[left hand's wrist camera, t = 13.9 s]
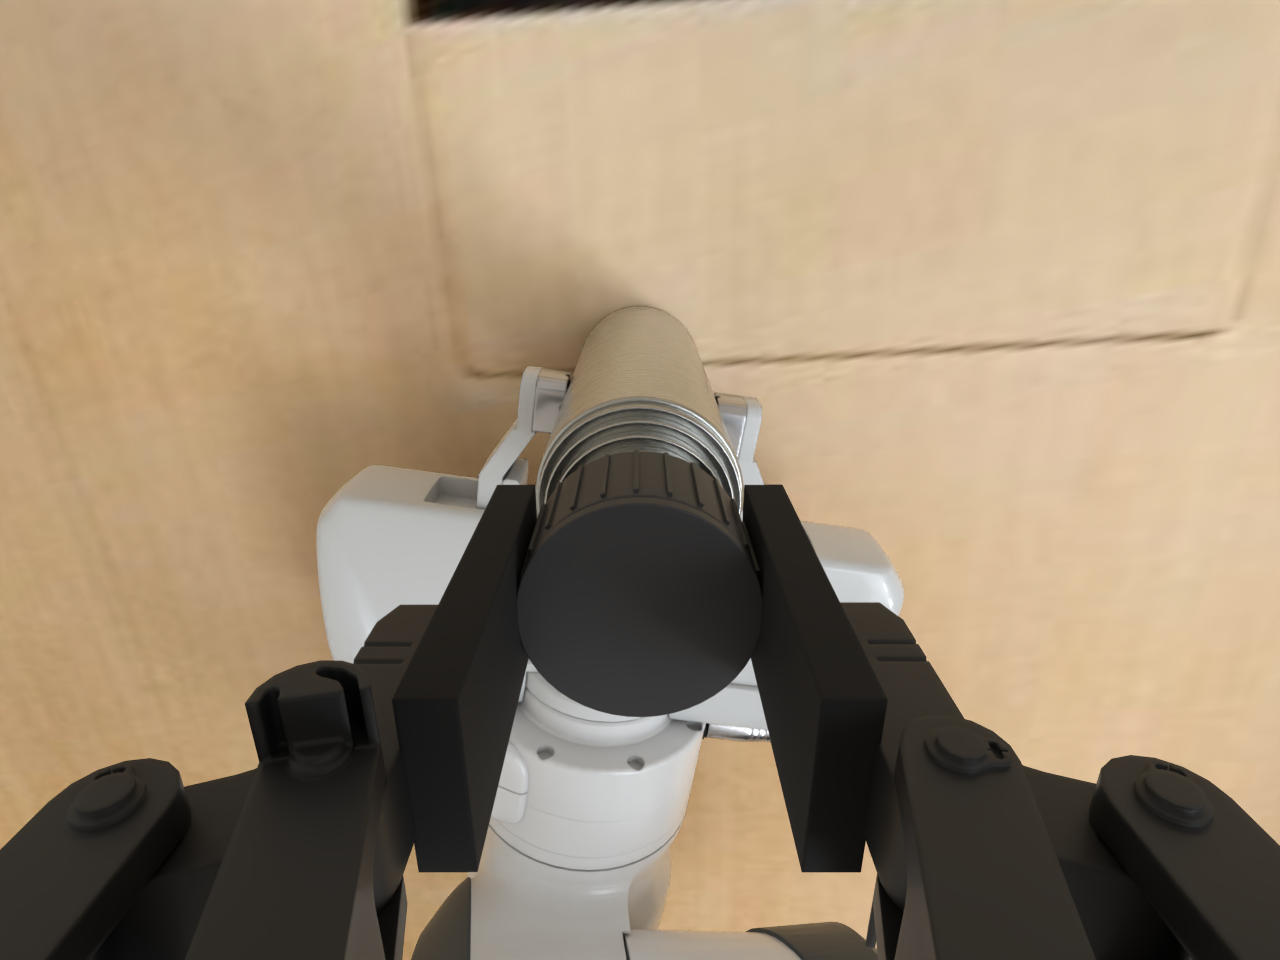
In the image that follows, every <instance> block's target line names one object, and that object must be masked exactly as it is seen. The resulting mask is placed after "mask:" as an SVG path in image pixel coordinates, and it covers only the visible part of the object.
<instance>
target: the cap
mask: <svg viewBox="0 0 1280 960" xmlns="http://www.w3.org/2000/svg"><path fill="white" fill-rule="evenodd" d="M759 571H760V570H759V567H758V564H757V561H756V557H755V554H754V551H753V548H752V545H751V542H750V539H749V535H748V532H747V529H746V526H745V523H744V522H742V521H741V517H740V514H739V511H738V508H737V505H736V502H735V500H734V498H733V499H731V498H730V497H729V496H728V494H727V493H726V491H725V490H724V489H723V488H722V487H721V486H720V484H719V480H718V479H717V478H712V477H711V476H710V475H709V474H707V473H706V472H705V471H703V470H702V469H700V468H698V467H697V466H696V464H695V463H694V462H691V463H689V462H687V461H685V460H683V459H680V458H677V457H674V456H671V455H668V453H666V452H664V454H663V453H656V452H647V451H639V450H634V451H632V452H622V453H616V454H612V455H610V454H605V457H602V458H599V459H596V460H594V461H592V462H590V463H588V464H586V465H584V466H583V465H580V466H579V467H578V470H576V471H575V472H573V473H572V474H570V475H569V476H568V477H567V478H566V479H565V480H564V481H563V482H560V481H559V482H558V483H557V485H556V489H555V490H554V492H553V493H552V494H551V496H550V497H549V499H548V501H547V502H546V504H544V503H543V504H542V505H541V508H540V511H539V515H538V518H537V521H536V524H535V527H534V531H533V534H532V537H531V540H530V543H529V546H528V550H527V556H526V560H525V563H524V566H523V569H522V572H521V576H520V583H519V586H518V590H517V611H518V625H519V637H520V640H521V643H522V646H523V648H524V650H525V652H526V654H527V656H528V658H529V660H530V661H531V663H532V664H533V665H534V667H535V668H536V670H537V671H538V672H539V673H540V674H541V676H542V677H543V678H544V679H545V680H546V681H547V682H548V683H549V684H550V685H552V686H553V687H554V688H555V689H556V690H558V691H559V692H560V693H562V694H563V695H565V696H566V697H568V698H569V699H571V700H573V701H575V702H577V703H579V704H581V705H583V706H586V707H588V708H591V709H594V710H596V711H600V712H604V713H608V714H612V715H618V716H626V717H652V716H661V715H667V714H672V713H676V712H679V711H682V710H686V709H689V708H691V707H693V706H696V705H698V704H700V703H702V702H704V701H706V700H708V699H710V698H711V697H713V696H715V695H716V694H717V693H719V692H720V691H721V690H723V689H724V688H726V687H727V686H728V685H729V684H730V683H731V682H732V681H733V680H734V679H735V678H736V677H737V676H738V675H739V674H740V672H741V671H742V670H743V669H744V667H745V666H746V665H747V663H748V661H749V660H750V658H751V656H752V655H753V653H754V651H755V648H756V646H757V644H758V641H759V638H760V630H761V617H762V603H763V594H762V588H761V584H760V581H759V578H758V575H759Z"/></svg>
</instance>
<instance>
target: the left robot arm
mask: <svg viewBox="0 0 1280 960" xmlns="http://www.w3.org/2000/svg"><path fill="white" fill-rule="evenodd" d="M536 521H537V509H536V492H535V485H497V486H496V488H495V490H494V492H493V494H492V496H491V498H490V501H489V503H488V505H487V507H486V509H485V511H484V513H483V515H482V517H481V519H480V521H479V523H478V525H477V527H476V529H475V531H474V533H473V535H472V537H471V539H470V541H469V543H468V545H467V547H466V549H465V551H464V553H463V556H462V558H461V560H460V562H459V564H458V566H457V568H456V570H455V572H454V574H453V576H452V578H451V580H450V582H449V584H448V586H447V588H446V590H445V592H444V594H443V596H442V598H441V600H440V602H439V604H438V605H399V606H398V607H396V608H395V609H394V610H392V611H391V612H390V613H388V614H387V615H386V616H384V617H383V618H382V619H380V620H379V621H378V622H377V623H376V624H375V626H374V627H373V629H372V631H371V632H370V634H369V636H368V637H367V639H366V640H365V642H364V647H361V649H360V650H359V652H358V653H357V655H356V657H355V658H354V663H353V664H352V663H349V662H345V661H317V662H312V663H308V664H303V665H299V666H295V667H293V668H291V669H289V670H286V671H284V672H282V673H279V674H277V675H275V676H273V677H272V678H270V679H269V680H268V681H266V682H265V683H263V684H262V685H261V686H259V687H258V688H256V690H255V691H254V692H253V694H252V695H251V696H250V698H249V699H248V700H247V701H246V703H245V706H246V710H247V714H248V718H249V722H250V726H251V730H252V734H253V738H254V742H255V746H256V750H257V754H258V758H259V765H258V768H256V769H254V770H250V771H247V772H244V773H241V774H237V775H234V776H229V777H225V778H221V779H216V780H212V781H208V782H203V783H199V784H195V785H190V786H186V787H184V786H183V783H182V779H181V776H180V773H179V771H178V770H177V769H176V768H175V767H174V766H172V765H171V764H170V763H169V762H166V761H161V760H156V759H151V758H148V759H139V760H130V761H124V762H121V763H118V764H115V765H112V766H109V767H106V768H102V769H99V770H97V771H95V772H93V773H91V774H89V775H88V776H86V777H84V778H82V779H80V780H78V781H76V782H74V783H72V784H71V785H70V786H68V787H67V788H66V789H64V790H63V791H62V792H61V793H59V794H58V795H57V796H56V797H54V798H53V799H52V800H51V801H49V802H48V803H47V804H46V805H45V806H44V807H43V808H42V809H41V810H40V811H39V812H38V813H37V814H36V815H35V816H34V817H33V818H32V819H31V820H30V821H29V822H28V823H27V824H26V825H25V826H24V827H23V828H22V829H21V830H20V831H19V832H18V833H17V834H16V835H15V836H14V837H13V838H12V839H11V840H10V841H9V842H8V843H7V844H6V845H5V846H4V847H3V848H2V849H1V850H0V960H402V954H403V944H404V933H405V923H406V912H407V898H406V891H405V884H404V879H403V873H404V870H405V867H406V864H407V861H408V858H409V856H410V853H411V850H412V847H413V844H414V845H415V851H416V857H417V864H418V870H419V872H478V868H479V864H480V860H481V856H482V852H483V847H484V843H485V839H486V835H487V831H488V827H489V822H490V818H491V814H492V810H493V806H494V801H495V797H496V793H497V789H498V785H499V780H500V776H501V772H502V768H503V764H504V760H505V755H506V751H507V747H508V743H509V739H510V734H511V730H512V726H513V722H514V718H515V714H516V709H517V705H518V701H519V697H520V693H521V688H522V684H523V680H524V676H525V672H526V668H527V663H528V659H529V658H528V656H527V654H526V652H525V650H524V648H523V646H522V643H521V640H520V637H519V625H518V611H517V590H518V586H519V583H520V576H521V572H522V569H523V566H524V563H525V560H526V556H527V550H528V546H529V543H530V540H531V537H532V534H533V531H534V527H535V524H536ZM742 522H744V523H745V526H746V529H747V532H748V535H749V539H750V542H751V545H752V548H753V551H754V554H755V557H756V561H757V564H758V567H759V570H760V571H759V575H758V578H759V581H760V584H761V588H762V594H763V603H762V617H761V630H760V638H759V641H758V644H757V646H756V648H755V651H754V653H753V655H752V656H751V661H752V665H753V669H754V674H755V678H756V682H757V686H758V690H759V695H760V699H761V703H762V707H763V711H764V715H765V720H766V724H767V728H768V732H769V736H770V741H771V745H772V749H773V753H774V757H775V762H776V766H777V770H778V774H779V778H780V782H781V787H782V791H783V795H784V799H785V803H786V808H787V812H788V816H789V820H790V824H791V828H792V833H793V837H794V841H795V845H796V849H797V854H798V858H799V862H800V866H801V870H802V872H861V867H862V861H863V854H864V848H865V842H867V845H868V848H869V851H870V853H871V856H872V859H873V862H874V865H875V868H876V871H877V879H876V884H875V890H874V896H873V902H872V908H871V914H870V920H869V926H868V932H867V939H866V946H867V947H872V948H875V944H876V942H877V953H878V960H1280V846H1279V845H1278V844H1277V843H1276V842H1275V841H1274V840H1273V839H1272V838H1271V837H1270V836H1269V835H1268V834H1267V833H1266V832H1265V831H1264V830H1263V829H1262V828H1261V827H1260V826H1259V825H1258V824H1257V823H1256V822H1255V821H1254V820H1253V819H1252V818H1251V817H1250V816H1249V815H1248V814H1247V813H1246V812H1245V811H1244V810H1243V809H1242V808H1241V807H1240V806H1239V805H1238V804H1237V803H1236V802H1235V801H1234V800H1233V799H1232V798H1230V797H1229V796H1228V795H1227V794H1225V793H1224V792H1223V791H1221V790H1220V789H1219V788H1218V787H1216V786H1215V785H1214V784H1213V783H1211V782H1210V781H1208V780H1207V779H1205V778H1203V777H1201V776H1199V775H1197V774H1195V773H1193V772H1191V771H1189V770H1188V769H1186V768H1184V767H1181V766H1178V765H1175V764H1172V763H1169V762H1166V761H1163V760H1160V759H1157V758H1151V757H1142V756H1133V755H1129V756H1124V757H1119V758H1114V759H1111V760H1110V761H1109V762H1108V763H1107V764H1106V765H1105V766H1103V767H1102V768H1101V771H1100V774H1099V778H1098V781H1097V784H1094V783H1090V782H1085V781H1081V780H1077V779H1072V778H1068V777H1063V776H1059V775H1055V774H1050V773H1046V772H1042V771H1039V770H1036V769H1032V768H1029V767H1026V766H1023V765H1022V764H1021V761H1020V760H1019V758H1018V757H1017V755H1016V754H1015V752H1014V751H1013V749H1012V748H1011V746H1010V745H1009V744H1008V743H1007V742H1005V741H1004V740H1003V739H1002V738H1000V737H999V736H998V735H997V734H995V733H994V732H993V731H991V730H989V729H987V728H985V727H983V726H981V725H979V724H977V723H975V722H973V721H970V720H966V719H964V717H963V716H962V714H961V713H960V711H959V709H958V708H957V706H956V704H955V703H954V701H953V700H952V698H951V696H950V695H949V693H948V692H947V690H946V688H945V687H944V685H943V683H942V682H941V680H940V679H939V677H938V675H937V674H936V672H935V671H934V669H933V667H932V666H931V664H930V662H927V661H926V656H925V654H924V653H923V651H922V650H921V648H920V646H919V645H918V644H916V640H915V638H914V637H913V635H912V633H911V632H910V630H909V629H908V627H907V625H906V624H905V622H904V620H903V619H901V618H900V617H899V616H897V615H896V614H895V613H893V612H892V611H891V610H889V609H888V608H887V607H885V606H884V605H882V604H881V603H880V602H840V601H839V599H838V597H837V595H836V593H835V591H834V589H833V587H832V585H831V583H830V581H829V579H828V577H827V575H826V573H825V571H824V569H823V567H822V565H821V563H820V561H819V559H818V557H817V554H816V552H815V550H814V548H813V546H812V544H811V542H810V540H809V538H808V536H807V534H806V532H805V530H804V528H803V526H802V524H801V522H800V520H799V518H798V516H797V514H796V512H795V510H794V508H793V506H792V504H791V502H790V499H789V497H788V495H787V493H786V491H785V489H784V487H783V485H744V501H743V518H742Z"/></svg>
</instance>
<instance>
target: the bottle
mask: <svg viewBox="0 0 1280 960" xmlns="http://www.w3.org/2000/svg"><path fill="white" fill-rule="evenodd" d="M634 450H639V451H647V452H656V453H663V454H664V452H666V453H668V455H671V456H674V457H677V458H680V459H683V460H685V461H687V462H689V463H691V462H694V463H695V464H696V466H697V467H698V468H700V469H702V470H703V471H705V472H706V473H707V474H709V475H710V476H711V477H712V478H717V479H718V480H719V484H720V486H721V487H722V488H723V489H724V490H725V491H726V493H727V494H728V496H729V497H730V498H731V499H733V498H734V500H735V502H736V505H737V508H738V511H739V514H740V516H741V512H742V508H743V499H744V484H743V478H742V472H741V468H740V465H739V462H738V459H737V456H736V454H735V451H734V448H733V446H732V443H731V440H730V437H729V435H728V432H727V429H726V427H725V424H724V421H723V419H722V416H721V413H720V411H719V408H718V405H717V402H716V400H715V397H714V394H713V392H712V389H711V386H710V384H709V381H708V378H707V376H706V373H705V370H704V368H703V365H702V362H701V359H700V357H699V354H698V351H697V349H696V346H695V343H694V341H693V339H692V337H691V335H690V334H689V332H688V331H687V329H686V328H685V327H684V326H683V325H682V324H681V323H680V322H679V321H678V320H677V319H676V318H674V317H673V316H671V315H670V314H668V313H666V312H664V311H662V310H659V309H655V308H651V307H643V306H636V307H628V308H623V309H621V310H618V311H615V312H613V313H611V314H609V315H608V316H606V317H605V318H604V319H602V320H601V321H600V322H599V323H598V324H597V325H596V326H595V327H594V328H593V330H592V331H591V332H590V334H589V336H588V337H587V339H586V341H585V344H584V346H583V349H582V352H581V354H580V357H579V360H578V362H577V365H576V368H575V370H574V373H573V376H572V379H571V381H570V384H569V387H568V389H567V392H566V395H565V397H564V400H563V403H562V406H561V408H560V411H559V414H558V416H557V419H556V422H555V424H554V427H553V430H552V433H551V435H550V438H549V441H548V443H547V446H546V449H545V451H544V454H543V457H542V460H541V463H540V466H539V469H538V473H537V479H536V505H537V512H538V515H539V511H540V508H541V505H542V504H543V503H544V504H546V502H547V501H548V499H549V497H550V496H551V494H552V493H553V492H554V490H555V489H556V485H557V483H558V482H559V481H560V482H563V481H564V480H565V479H566V478H567V477H568V476H569V475H570V474H572V473H573V472H575V471H576V470H578V467H579V466H580V465H583V466H584V465H586V464H588V463H590V462H592V461H594V460H596V459H599V458H602V457H605V454H610V455H612V454H616V453H622V452H632V451H634Z"/></svg>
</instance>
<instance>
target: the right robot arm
mask: <svg viewBox="0 0 1280 960" xmlns="http://www.w3.org/2000/svg"><path fill="white" fill-rule="evenodd" d="M570 380H571V372H566V371H560V370H553V369H547V368H542V367H534V366H527V368H526V369H525V371H524V372H523V376H522V380H521V386H520V394H519V406H518V418H517V419H516V421H515V422H514V423H513V425H512V426H511V427H510V429H509V430H508V431H507V433H506V434H505V435H504V437H503V438H502V439H501V441H500V442H499V443H498V445H497V446H496V447H495V449H494V450H493V451H492V453H491V454H490V456H489V458H488V459H487V461H486V463H485V464H484V466H483V468H482V470H481V471H480V473H479V478H474V477H467V476H459V475H452V474H444V473H437V472H430V471H422V470H415V469H407V468H400V467H393V466H385V465H371V466H368V467H366V468H364V469H363V470H362V471H360V472H359V473H358V474H357V475H355V476H354V477H353V478H352V479H350V480H349V481H348V482H347V483H346V484H344V485H343V486H342V487H341V488H340V489H339V490H338V491H337V492H336V493H335V494H334V496H333V497H332V498H331V499H330V500H329V501H328V502H327V504H326V505H325V507H324V508H323V510H322V512H321V514H320V516H319V519H318V523H317V530H316V553H317V570H318V582H319V591H320V599H321V607H322V614H323V619H324V625H325V631H326V636H327V641H328V646H329V649H330V653H331V655H332V658H333V660H334V661H345V662H349V663H352V664H353V663H354V658H355V657H356V655H357V653H358V652H359V650H360V649H361V647H364V642H365V640H366V639H367V637H368V636H369V634H370V632H371V631H372V629H373V627H374V626H375V624H376V623H377V622H378V621H379V620H380V619H382V618H383V617H384V616H386V615H387V614H388V613H390V612H391V611H392V610H394V609H395V608H396V607H398V606H399V605H438V604H439V602H440V600H441V598H442V596H443V594H444V592H445V590H446V588H447V586H448V584H449V582H450V580H451V578H452V576H453V574H454V572H455V570H456V568H457V566H458V564H459V562H460V560H461V558H462V556H463V553H464V551H465V549H466V547H467V545H468V543H469V541H470V539H471V537H472V535H473V533H474V531H475V529H476V527H477V525H478V523H479V521H480V519H481V517H482V515H483V513H484V511H485V509H486V507H487V505H488V503H489V501H490V498H491V496H492V494H493V492H494V490H495V488H496V486H497V485H527V479H528V466H529V462H528V461H527V459H523V458H517V457H518V456H519V455H520V453H521V452H522V451H523V449H524V448H525V447H526V445H527V444H528V443H529V441H530V440H531V439H532V437H533V436H534V435H535V433H536V432H544V433H552V430H553V427H554V424H555V422H556V419H557V416H558V414H559V411H560V408H561V406H562V403H563V400H564V397H565V395H566V392H567V389H568V387H569V384H570ZM714 397H715V400H716V402H717V405H718V408H719V411H720V413H721V416H722V419H723V421H724V424H725V427H726V429H727V432H728V435H729V437H730V440H731V443H732V446H733V448H734V451H735V454H736V456H737V459H738V462H739V465H740V468H741V472H742V478H743V484H744V485H764V483H763V480H762V477H761V474H760V471H759V469H758V466H757V463H756V461H755V458H754V453H755V448H756V443H757V439H758V434H759V429H760V425H761V420H762V406H761V404H760V403H759V401H758V399H757V398H752V397H745V396H738V395H730V394H723V393H714ZM535 492H536V486H535ZM743 501H744V499H743ZM536 509H537V505H536ZM740 517H741V521H742V518H743V508H742V512H741V516H740ZM537 518H538V512H537ZM800 522H801V524H802V526H803V528H804V530H805V532H806V534H807V536H808V538H809V540H810V542H811V544H812V546H813V548H814V550H815V552H816V554H817V557H818V559H819V561H820V563H821V565H822V567H823V569H824V571H825V573H826V575H827V577H828V579H829V581H830V583H831V585H832V587H833V589H834V591H835V593H836V595H837V597H838V599H839V601H840V602H880V603H881V604H882V605H884V606H885V607H887V608H888V609H889V610H891V611H892V612H893V613H895V614H896V615H897V616H899V613H900V610H901V607H902V604H903V600H904V588H903V584H902V581H901V579H900V577H899V575H898V572H897V571H896V569H895V567H894V565H893V564H892V562H891V560H890V558H889V557H888V556H887V554H886V553H885V552H884V550H883V549H882V548H881V546H880V545H879V544H878V543H877V541H876V540H875V539H874V537H873V536H872V535H871V534H869V533H868V532H866V531H865V530H861V529H857V528H849V527H842V526H834V525H827V524H819V523H812V522H804V521H800ZM704 737H706V738H714V739H722V740H731V741H741V742H755V741H757V742H761V741H763V742H770V743H771V741H770V736H769V732H768V728H767V724H766V720H765V715H764V711H763V707H762V703H761V699H760V695H759V690H758V686H757V682H756V678H755V674H754V669H753V665H752V661H751V658H750V660H749V661H748V663H747V665H746V666H745V667H744V669H743V670H742V671H741V672H740V674H739V675H738V676H737V677H736V678H735V679H734V680H733V681H732V682H731V683H730V684H729V685H728V686H727V687H726V688H724V689H723V690H721V691H720V692H719V693H717V694H716V695H715V696H713V697H711V698H710V699H708V700H706V701H704V702H702V703H700V704H698V705H696V706H693V707H691V708H689V709H686V710H682V711H679V712H676V713H672V714H667V715H661V716H652V717H626V716H618V715H612V714H608V713H604V712H600V711H596V710H594V709H591V708H588V707H586V706H583V705H581V704H579V703H577V702H575V701H573V700H571V699H569V698H568V697H566V696H565V695H563V694H562V693H560V692H559V691H558V690H556V689H555V688H554V687H553V686H552V685H550V684H549V683H548V682H547V681H546V680H545V679H544V678H543V677H542V676H541V674H540V673H539V672H538V671H537V670H536V668H535V667H534V665H533V664H532V663H531V661H530V660H529V659H528V663H527V668H526V672H525V676H524V680H523V684H522V688H521V693H520V697H519V701H518V705H517V709H516V714H515V718H514V722H513V726H512V730H511V734H510V739H509V743H508V747H507V751H506V755H505V760H504V764H503V768H502V772H501V776H500V780H499V785H498V789H497V793H496V797H495V801H494V806H493V810H492V814H491V818H490V822H489V827H488V831H487V835H486V839H485V843H484V847H483V852H482V856H481V860H480V864H479V868H478V872H467V878H466V879H465V880H464V881H463V882H462V883H461V884H460V885H459V886H458V887H457V888H456V889H455V890H454V891H453V892H452V893H451V894H450V895H449V897H448V898H447V899H446V900H445V901H444V903H443V904H442V906H441V907H440V908H439V910H438V911H437V912H436V914H435V915H434V916H433V918H432V919H431V921H430V922H429V923H428V925H427V926H426V927H425V929H424V930H423V932H422V933H421V935H420V937H419V939H418V942H417V944H416V947H415V950H414V953H413V956H412V959H411V960H878V953H877V949H876V948H872V947H867V946H866V940H865V939H864V938H863V937H861V936H860V935H859V934H858V933H857V932H855V931H854V930H853V929H851V928H850V927H848V926H846V925H844V924H841V923H838V922H824V923H812V924H800V925H789V926H777V927H765V928H754V929H750V930H748V931H746V932H722V931H681V930H658V929H659V925H660V922H661V918H662V914H663V910H664V906H665V903H666V898H667V894H668V890H669V885H670V876H671V853H670V845H671V844H672V842H673V841H674V839H675V837H676V836H677V834H678V832H679V830H680V828H681V825H682V823H683V820H684V817H685V813H686V809H687V804H688V800H689V796H690V791H691V787H692V782H693V778H694V773H695V769H696V764H697V760H698V756H699V751H700V746H701V742H702V739H704Z"/></svg>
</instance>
